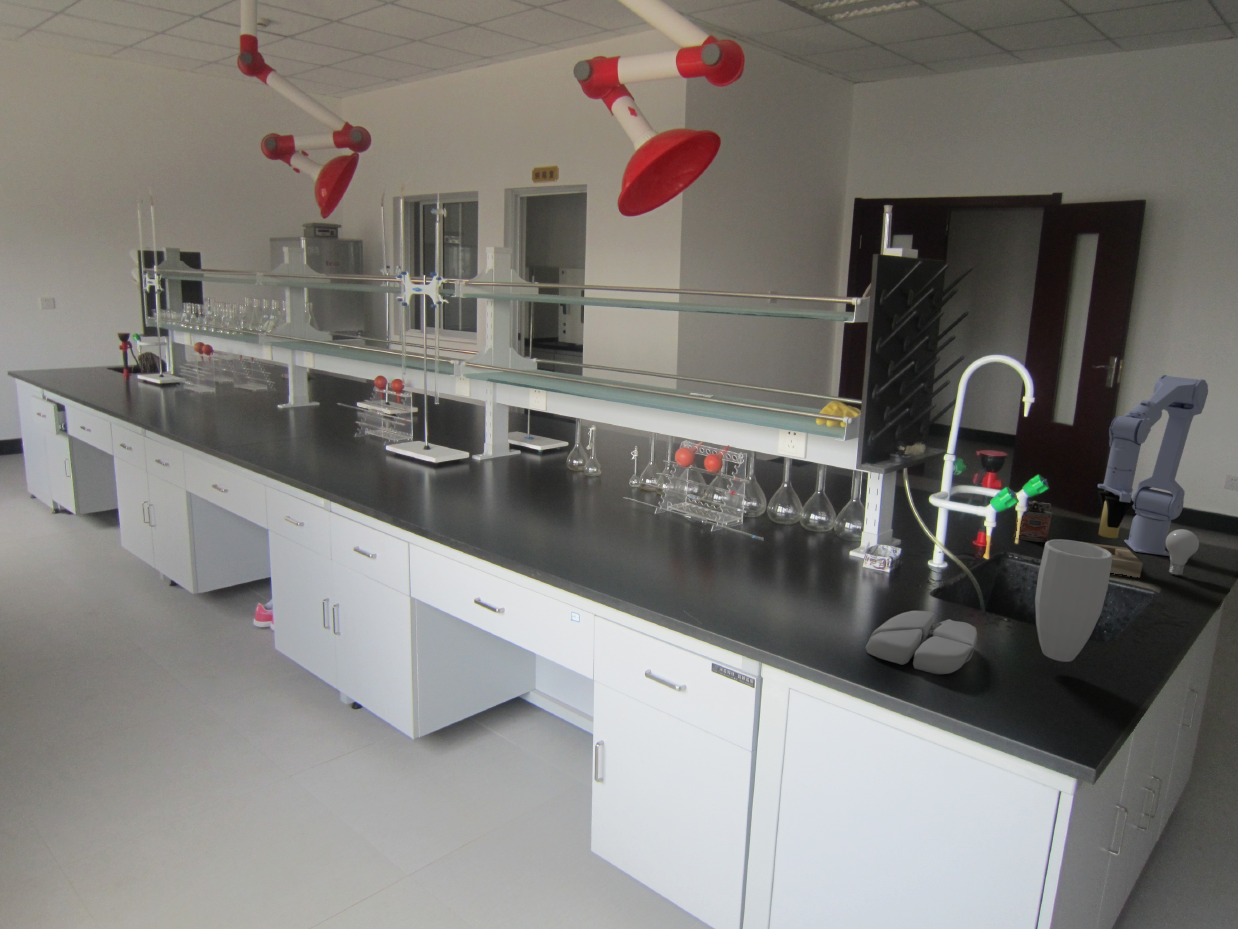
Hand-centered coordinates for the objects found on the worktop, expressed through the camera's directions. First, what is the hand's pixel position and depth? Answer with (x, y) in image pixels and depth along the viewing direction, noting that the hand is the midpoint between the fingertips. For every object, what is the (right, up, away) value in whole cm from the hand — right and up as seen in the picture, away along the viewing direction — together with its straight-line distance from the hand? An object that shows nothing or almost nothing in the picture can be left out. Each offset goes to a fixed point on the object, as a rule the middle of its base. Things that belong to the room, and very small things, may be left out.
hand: (1110, 524), depth 193 cm
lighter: (-9, -5, +20) cm, 22 cm away
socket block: (-1, -10, +1) cm, 10 cm away
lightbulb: (+13, -12, -2) cm, 18 cm away
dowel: (0, -3, +1) cm, 3 cm away
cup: (-43, -21, -56) cm, 74 cm away
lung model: (-61, -18, -49) cm, 80 cm away
